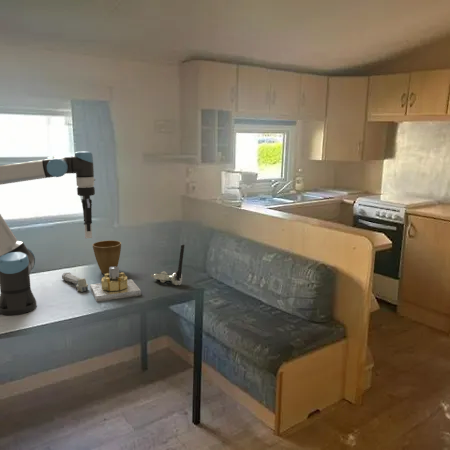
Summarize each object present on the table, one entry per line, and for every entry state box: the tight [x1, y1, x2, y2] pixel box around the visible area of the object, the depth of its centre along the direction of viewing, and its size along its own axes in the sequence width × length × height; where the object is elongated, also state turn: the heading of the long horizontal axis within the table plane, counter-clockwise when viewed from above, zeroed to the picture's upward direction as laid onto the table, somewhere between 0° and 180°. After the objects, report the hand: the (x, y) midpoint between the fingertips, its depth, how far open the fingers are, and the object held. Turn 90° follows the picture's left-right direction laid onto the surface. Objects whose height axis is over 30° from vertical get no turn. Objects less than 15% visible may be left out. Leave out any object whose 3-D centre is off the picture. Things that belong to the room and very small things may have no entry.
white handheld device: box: [61, 272, 89, 293], centre depth 226 cm, size 5×7×25 cm
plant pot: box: [92, 239, 122, 275], centre depth 247 cm, size 15×15×16 cm
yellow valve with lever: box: [100, 271, 128, 291], centre depth 219 cm, size 20×12×5 cm, turn 11°
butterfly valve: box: [150, 244, 185, 286], centre depth 231 cm, size 9×20×17 cm
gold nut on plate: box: [89, 266, 142, 302], centre depth 215 cm, size 20×18×12 cm
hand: (88, 237), depth 211 cm, fingers closed
